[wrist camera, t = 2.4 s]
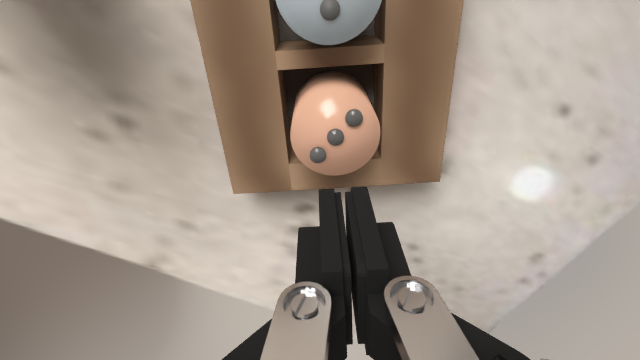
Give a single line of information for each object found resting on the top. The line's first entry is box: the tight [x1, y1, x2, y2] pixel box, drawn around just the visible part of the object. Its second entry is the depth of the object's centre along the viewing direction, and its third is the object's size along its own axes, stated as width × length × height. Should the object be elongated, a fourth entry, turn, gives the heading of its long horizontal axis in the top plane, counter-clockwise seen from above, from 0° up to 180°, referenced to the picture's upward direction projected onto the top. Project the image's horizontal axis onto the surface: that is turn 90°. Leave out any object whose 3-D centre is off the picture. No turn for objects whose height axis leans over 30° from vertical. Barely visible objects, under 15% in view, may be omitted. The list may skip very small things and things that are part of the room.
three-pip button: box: [290, 71, 380, 176], centre depth 20 cm, size 5×5×5 cm
